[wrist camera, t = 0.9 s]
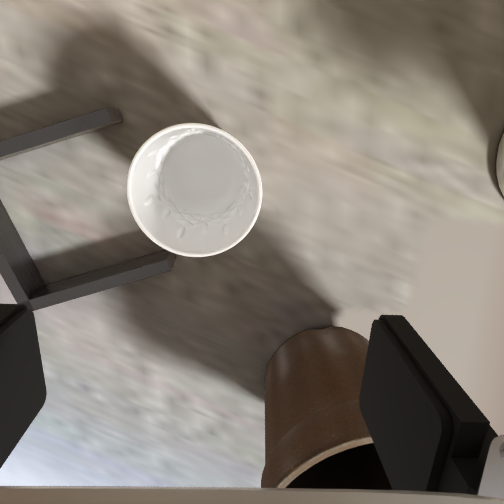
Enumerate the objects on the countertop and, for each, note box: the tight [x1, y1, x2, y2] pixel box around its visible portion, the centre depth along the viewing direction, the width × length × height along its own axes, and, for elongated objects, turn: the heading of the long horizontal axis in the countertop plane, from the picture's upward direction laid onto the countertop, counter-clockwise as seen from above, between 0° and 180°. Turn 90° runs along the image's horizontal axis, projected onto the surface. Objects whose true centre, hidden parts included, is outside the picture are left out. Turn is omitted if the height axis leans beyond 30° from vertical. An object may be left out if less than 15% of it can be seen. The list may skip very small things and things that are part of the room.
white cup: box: [127, 123, 262, 257], centre depth 27 cm, size 8×8×10 cm
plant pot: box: [261, 326, 392, 490], centre depth 32 cm, size 16×16×16 cm
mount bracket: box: [0, 108, 176, 311], centre depth 31 cm, size 13×13×3 cm
